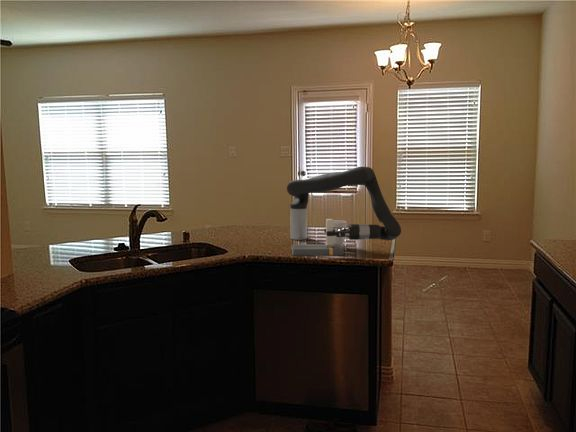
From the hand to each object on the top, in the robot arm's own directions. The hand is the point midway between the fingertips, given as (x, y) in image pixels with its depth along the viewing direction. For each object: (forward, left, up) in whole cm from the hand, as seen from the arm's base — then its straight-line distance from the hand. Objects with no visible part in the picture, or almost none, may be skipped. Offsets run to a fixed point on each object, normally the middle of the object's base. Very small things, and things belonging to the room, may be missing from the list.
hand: (325, 232), depth 228 cm
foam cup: (-17, -1, -10) cm, 20 cm away
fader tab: (-1, +2, -7) cm, 7 cm away
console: (+2, -4, -10) cm, 11 cm away
